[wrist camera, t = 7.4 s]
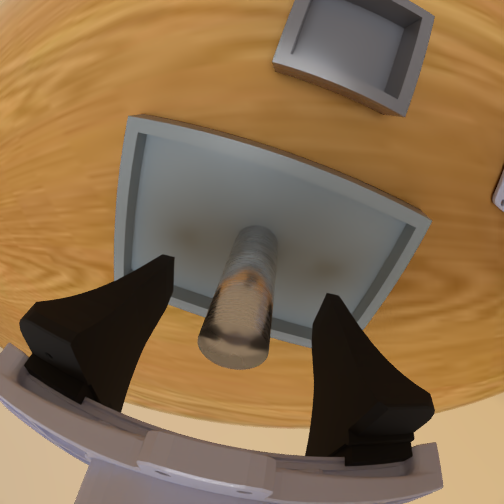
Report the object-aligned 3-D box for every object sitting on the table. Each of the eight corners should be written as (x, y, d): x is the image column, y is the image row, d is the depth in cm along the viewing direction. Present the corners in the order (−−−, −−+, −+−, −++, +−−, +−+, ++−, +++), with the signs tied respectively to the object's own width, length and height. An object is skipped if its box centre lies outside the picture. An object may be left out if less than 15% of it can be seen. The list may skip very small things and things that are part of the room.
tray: (420, 209, 14) (432, 221, 13) (340, 339, 20) (342, 355, 19) (143, 114, 14) (128, 115, 12) (124, 270, 19) (114, 283, 18)
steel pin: (283, 231, 16) (276, 333, 9) (272, 268, 17) (259, 375, 10) (239, 220, 16) (200, 315, 9) (231, 258, 17) (195, 360, 10)
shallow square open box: (411, 28, 9) (434, 16, 6) (383, 114, 12) (404, 117, 10) (307, -16, 9) (311, -40, 6) (275, 71, 12) (272, 61, 9)
